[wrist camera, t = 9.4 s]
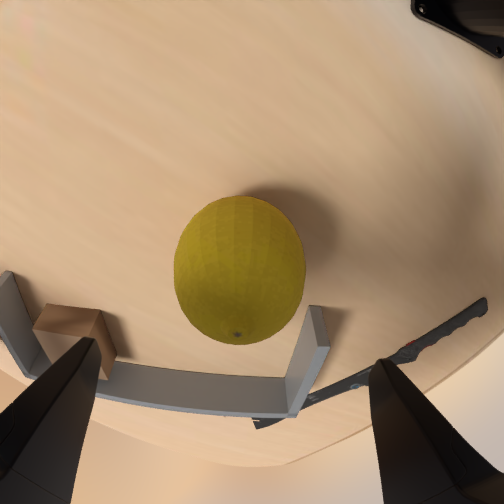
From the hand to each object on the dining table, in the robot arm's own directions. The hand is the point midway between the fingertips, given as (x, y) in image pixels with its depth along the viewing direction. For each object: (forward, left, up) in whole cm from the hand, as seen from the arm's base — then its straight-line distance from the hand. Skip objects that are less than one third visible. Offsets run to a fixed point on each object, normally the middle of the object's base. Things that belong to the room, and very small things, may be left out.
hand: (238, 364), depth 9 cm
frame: (+6, +10, -9) cm, 15 cm away
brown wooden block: (+12, +11, -10) cm, 18 cm away
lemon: (0, 0, -9) cm, 9 cm away
